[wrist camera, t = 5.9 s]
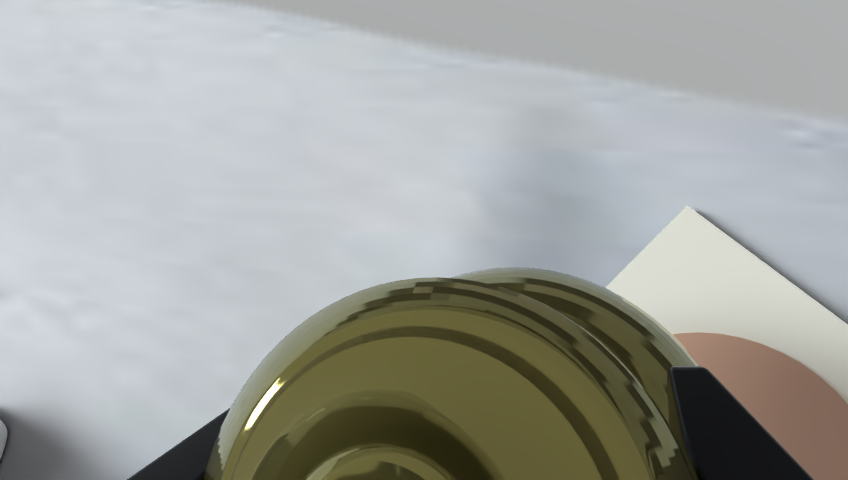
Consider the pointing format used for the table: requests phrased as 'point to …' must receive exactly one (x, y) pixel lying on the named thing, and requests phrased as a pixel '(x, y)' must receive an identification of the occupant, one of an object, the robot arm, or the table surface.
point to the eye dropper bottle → (2, 437)
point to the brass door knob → (462, 387)
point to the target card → (750, 336)
